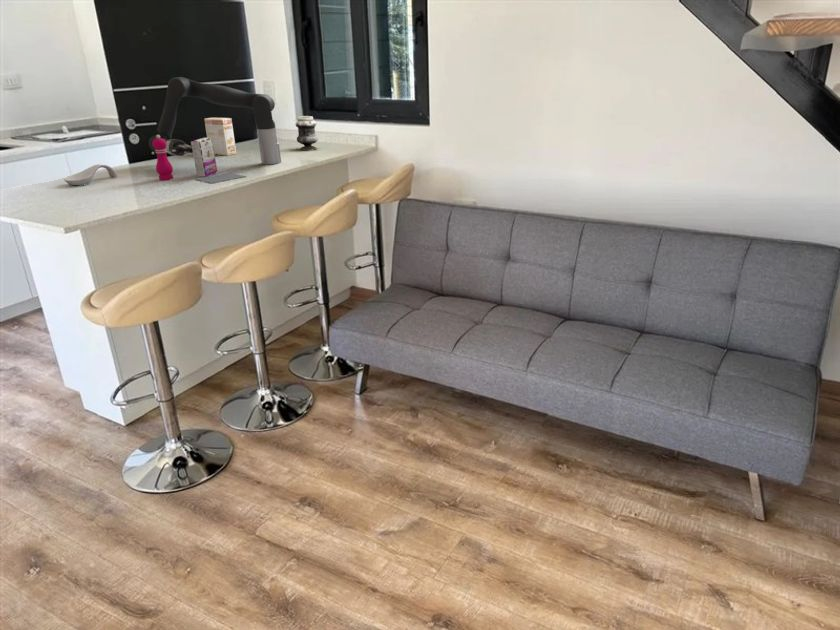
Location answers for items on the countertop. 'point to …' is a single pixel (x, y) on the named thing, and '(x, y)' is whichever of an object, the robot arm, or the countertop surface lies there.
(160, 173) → the pepper mill
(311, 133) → the apothecary jar
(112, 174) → the spoon rest
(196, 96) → the robot arm
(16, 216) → the countertop surface
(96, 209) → the countertop surface
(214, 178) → the rubber mat
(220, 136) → the coffeecake box
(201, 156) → the candy bar box
